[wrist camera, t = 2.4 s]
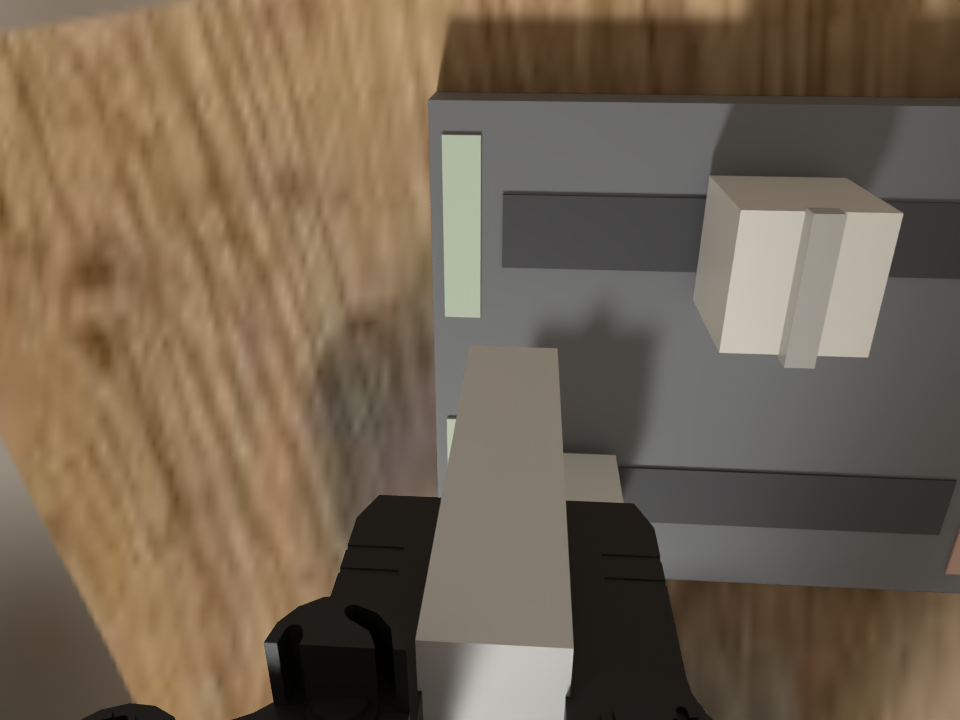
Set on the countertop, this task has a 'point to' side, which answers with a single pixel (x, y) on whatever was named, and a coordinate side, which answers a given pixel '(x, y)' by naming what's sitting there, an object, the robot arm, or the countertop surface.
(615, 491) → the block
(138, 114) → the countertop surface
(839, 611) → the countertop surface
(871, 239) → the breaker
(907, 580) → the switch panel
